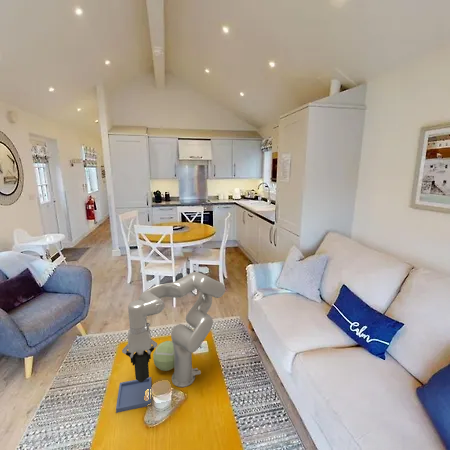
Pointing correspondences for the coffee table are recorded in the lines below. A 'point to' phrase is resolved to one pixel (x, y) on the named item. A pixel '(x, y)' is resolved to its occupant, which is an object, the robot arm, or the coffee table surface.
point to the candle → (141, 366)
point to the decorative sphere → (164, 356)
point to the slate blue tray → (132, 395)
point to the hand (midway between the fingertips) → (141, 361)
